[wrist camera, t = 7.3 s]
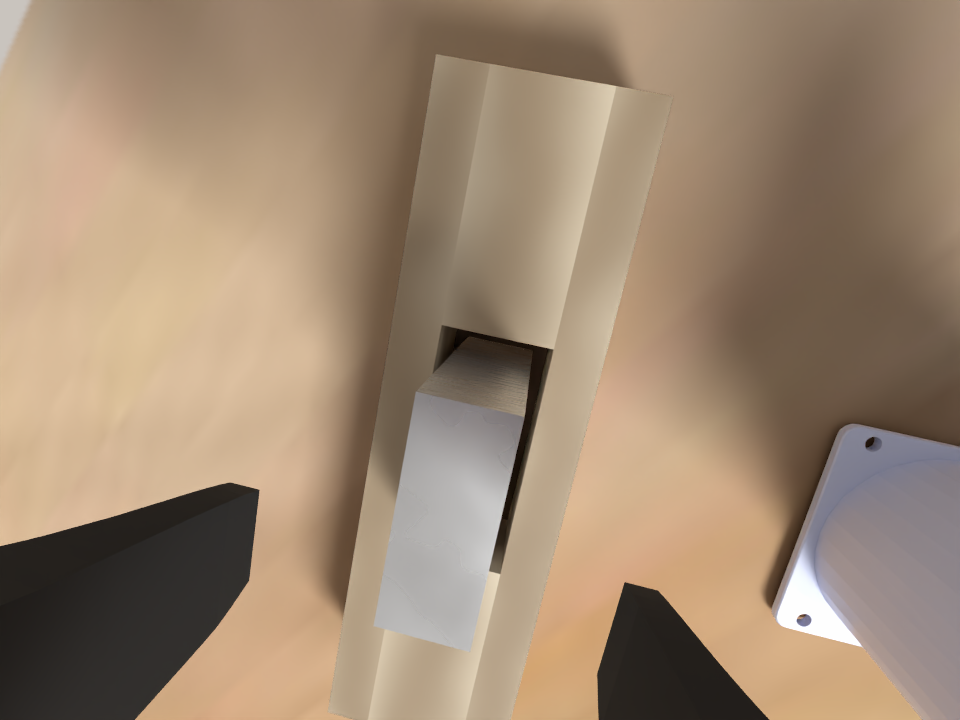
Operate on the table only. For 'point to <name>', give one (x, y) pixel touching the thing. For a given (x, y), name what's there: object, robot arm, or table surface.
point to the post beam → (509, 315)
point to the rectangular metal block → (453, 492)
